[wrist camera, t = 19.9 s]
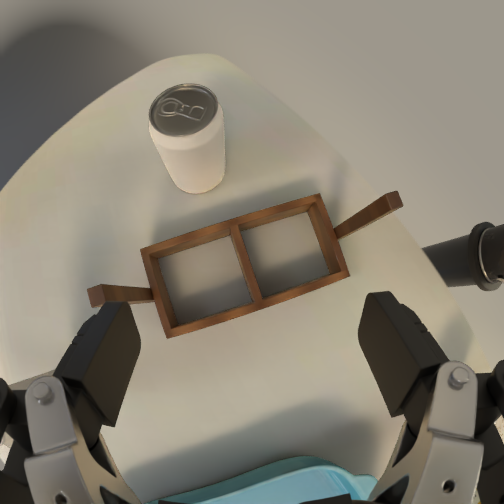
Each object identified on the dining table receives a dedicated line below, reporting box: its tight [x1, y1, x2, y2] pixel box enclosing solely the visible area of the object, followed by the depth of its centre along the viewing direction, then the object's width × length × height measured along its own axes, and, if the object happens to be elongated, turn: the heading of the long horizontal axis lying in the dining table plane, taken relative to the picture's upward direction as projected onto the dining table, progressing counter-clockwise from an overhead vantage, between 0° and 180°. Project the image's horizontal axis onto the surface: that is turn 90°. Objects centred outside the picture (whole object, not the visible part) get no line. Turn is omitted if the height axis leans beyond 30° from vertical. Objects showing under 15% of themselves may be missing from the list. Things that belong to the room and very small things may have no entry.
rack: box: [87, 191, 403, 339], centre depth 23 cm, size 22×9×14 cm, turn 108°
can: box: [149, 84, 226, 194], centre depth 25 cm, size 6×6×12 cm
